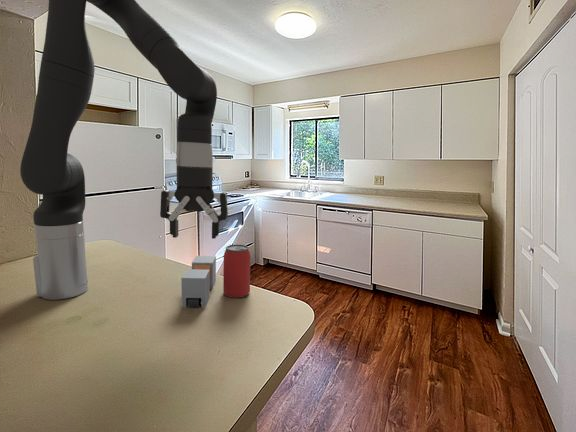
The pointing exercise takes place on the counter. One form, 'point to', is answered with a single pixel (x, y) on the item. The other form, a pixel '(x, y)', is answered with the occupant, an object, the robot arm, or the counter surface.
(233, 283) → the beer can
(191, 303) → the rail
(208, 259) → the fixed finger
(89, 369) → the counter surface
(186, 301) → the grey block
